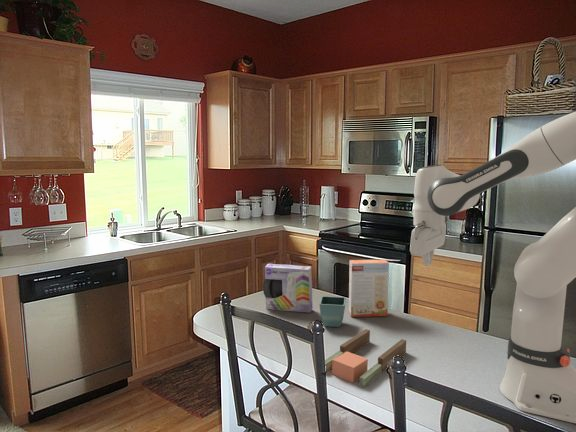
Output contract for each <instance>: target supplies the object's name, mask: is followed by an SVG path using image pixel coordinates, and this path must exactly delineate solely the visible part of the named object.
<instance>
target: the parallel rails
mask: <svg viewBox="0 0 576 432" xmlns="http://www.w3.org/2000/svg"><path fill="white" fill-rule="evenodd" d="M370 336H371V330H370V329H367V328H366V329H363V330H362V331H360V332H359V333H357V334H356V335H354V336H353V337H352V338H351V337H350V339H348V340H347V341H345V342H343V343H342V344H340V345H339V350H338V351H337V352H335V353H333V354H332V355H330V356H329V357H328V358H326V359H324V360H325V366H326V373H327V372H329V371H330V370H332V360H333V359H335V358H336V357H338V356H340V355H342V354H343V353H345V352H350V353H353V354H355V352H358V351H359V350H361V349H362V348H363V347H365V346H366V345H367V344H369V343H370V338H371V337H370ZM406 352H407V340H406V339H403V338H402V339H400V340H399V341H398V342H396V343H394V345H392V346H391V347H390V348H388V349H387V350H386V351H384V352H383V353H382V354H381V355H380V356H378V357H377V363H376V364H375V365H373V366H372V367H370V368H369V369H367V372H365V373H364V374H363V375H362V376H360V377H359V379H358V381H359V384H358V386H359V387H361V388H363V389H364V388H366V387H367V386H369V385H370V384H371V383H372V382H373V381H374V380H376V378H378V377H379V376H381V374H382V373H384V372H385V371H386V370H387V369H388V368H387V362H388V361H389V360H391V359H393V357H394V356H397V355H399V356H401V357H403V356H404V355H405V354H406ZM386 368H387V369H386Z"/></svg>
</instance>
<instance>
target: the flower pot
mask: <svg viewBox="0 0 576 432" xmlns="http://www.w3.org/2000/svg"><path fill="white" fill-rule="evenodd" d="M346 300H347V299H346V297H344V296H325V295H322V296H321V299H320V302H319V312H320V318H321V321H322V323H323V325H324V326H325V327H331V328H332V327H334V328H335V327H336V328H339V327H341V325H342V324H343V321H344V314H345V309H346Z"/></svg>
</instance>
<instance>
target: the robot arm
mask: <svg viewBox="0 0 576 432" xmlns="http://www.w3.org/2000/svg"><path fill="white" fill-rule="evenodd" d="M575 160H576V111H573V112H571V113H568V114H565V115H563V116H561V117H558V118H556V119H553V120H551V121H550V122H547V123H546V124H543V125H541V126H540V127H537V129H534V130H533V131H532V132H530V133H528V134H527V135H525V136H523V137H522V138H521V139H520V140H518V141H517V142H515V143H514V144H513V145H511V146H510V147H508V148H507V149H505V150H504V151H502V152H501V153H500V154H499V155H497V156H495V157H494V158H492V159H490V160H488V161H487V162H484V163H483V164H481V165H479V166H477V167H475V168H473V169H471V170H469V171H467V172H465V173H463V174H461V175H460V174H458V173H455V172H453V171H451V170H449V169H448V168H446V167H445V166H444V165H442V164H434V165H433V164H432V165H427V166H423V167H420V168H419V169H417V171H416V174H415V178H414V186H413V187H414V189H413V196H414V202H415V203H414V206H413V221H412V222H413V224H412V225H413V226H415V228H413V229H412V230H411V236H410V244H409V245H410V246H409V252H410V255H412V256H417V257H422V265H423V266H427V267H429V266H431V265H432V264H433V258H434V254H435V250H437V249H439V248H440V247H442V246H444V245H445V242H446V235H447V224H448V222H449V216H450V217H451V216H453V215H455V214H457V213H460V212H464V211H465V210H468V209H472V208H473V207H474V206H475V205H477V204H478V202H479V200H480V197H481V193H483V192H486V191H488V190H490V189H492V188H494V187H496V186H498V185H501V184H502V183H506V182H509V181H512V180H517V179H523V178H528V177H535V176H539V175H542V174H546V173H549V172H552V171H554V170H557V169H560V168H562V167H563V166H565V165H567V164H569V163H572V162H574V161H575ZM513 274H514V275H513V277H514V279H515V281H516V288H515V294H514V302H513V308H512V318H511V329H510V330H511V331H510V336H509V338H508V341H507V350H506V354H507V355H506V356H507V363H506V367H505V372H504V375H503V378H502V381H501V382H500V385H499V391H500V392H501V394H502V395H503V396H504V397H505V398H506V399H508V400H509V401H511V403H513V404H514V406H516V408H517V409H519V411H522V412H525V413H530V414H534V415H539V416H542V417H545V418H551V419H555V420H559V421H564V422H568V423H572V424H576V368H575V366H573V365H572V364H571V353H570V348H567V349H565V348H564V346H562V337H563V328H564V327H563V326H564V320H565V318H564V317H565V309H566V308H565V305H566V298H567V297H566V296H567V287H568V285H569V284H570V283H571V282H572V281H573V280H574V279H575V278H576V206H575V207H574V208H572V209H571V210H570V211H569V212H567V214H566V215H564V216H563V217H562V218H561V219H560V220H559V221H558V222H557V223H556V224H554V226H552V228H551V229H550V230H548V231H547V232H546V233H545V234H544V235H543V236H541V238H540V239H539V240H537V241H535V242H533V243H530V244H528V245H527V246H526V247H525V248H524V249H523V250H522V251H521V253H520V255H519V256H518V258H517V260H516V262H515V265H514V269H513Z"/></svg>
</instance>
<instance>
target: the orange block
mask: <svg viewBox="0 0 576 432" xmlns="http://www.w3.org/2000/svg"><path fill="white" fill-rule="evenodd" d="M368 361H369V360H368V358H366V357H364V356H361V355H359V354H356V353H350V352H345V353H343V354H342V355H340V356H338V357H336V358H335V359H333V360H332V368H331V375H333V376H336V377H338V378H340V379H343V380H345V381H348V382H350V383H353V384H354V383H356V382H357V381H359V377H360V376H362V375H363V374H364V373H365V372H367V371H368V366H369V365H368Z"/></svg>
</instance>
